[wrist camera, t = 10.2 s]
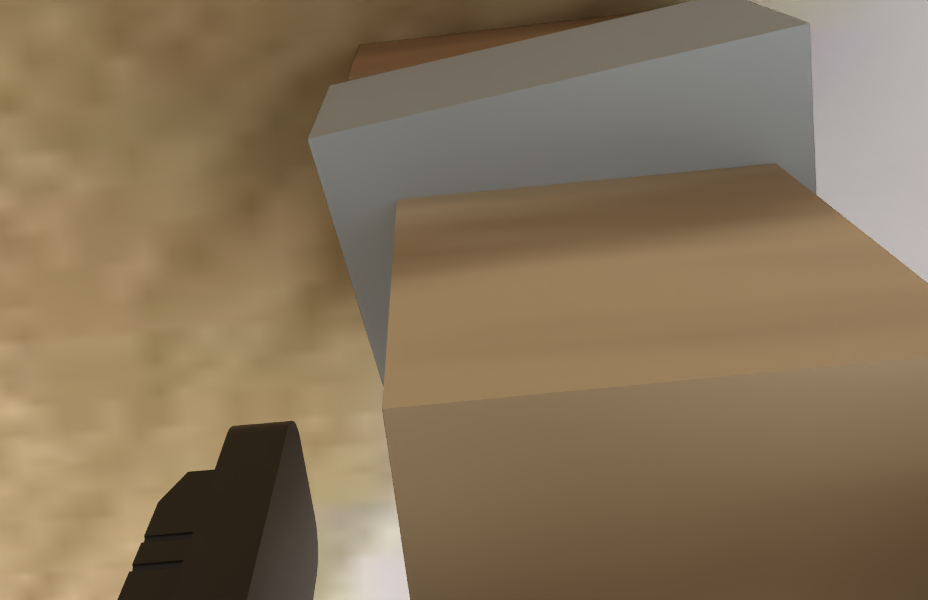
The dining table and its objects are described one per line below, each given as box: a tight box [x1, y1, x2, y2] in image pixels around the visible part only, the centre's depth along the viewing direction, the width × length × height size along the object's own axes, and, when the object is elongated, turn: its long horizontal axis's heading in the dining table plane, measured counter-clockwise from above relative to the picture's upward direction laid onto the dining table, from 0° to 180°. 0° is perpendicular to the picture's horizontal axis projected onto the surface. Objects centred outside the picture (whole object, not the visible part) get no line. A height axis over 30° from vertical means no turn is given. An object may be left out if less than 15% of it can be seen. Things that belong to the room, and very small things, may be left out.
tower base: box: [348, 12, 642, 81], centre depth 18 cm, size 7×7×4 cm
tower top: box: [308, 0, 816, 387], centre depth 15 cm, size 7×7×4 cm
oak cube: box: [382, 164, 928, 600], centre depth 11 cm, size 6×6×6 cm
